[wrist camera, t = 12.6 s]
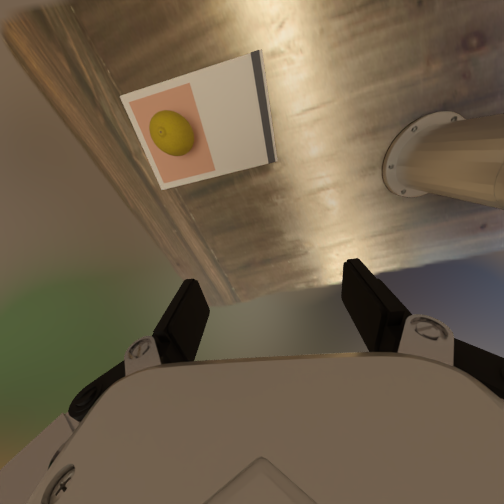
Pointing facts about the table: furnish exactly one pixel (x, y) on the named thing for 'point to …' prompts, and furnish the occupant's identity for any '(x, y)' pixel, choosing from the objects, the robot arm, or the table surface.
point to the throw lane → (209, 120)
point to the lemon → (171, 133)
